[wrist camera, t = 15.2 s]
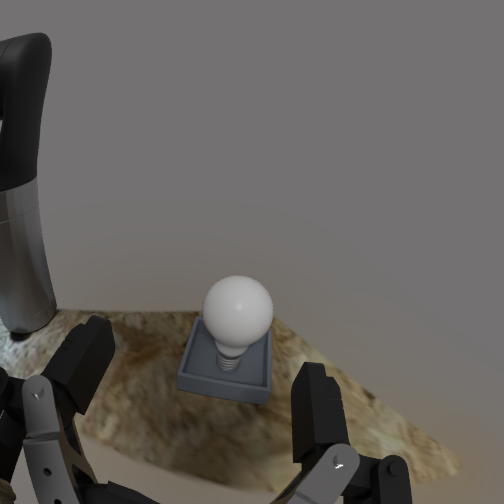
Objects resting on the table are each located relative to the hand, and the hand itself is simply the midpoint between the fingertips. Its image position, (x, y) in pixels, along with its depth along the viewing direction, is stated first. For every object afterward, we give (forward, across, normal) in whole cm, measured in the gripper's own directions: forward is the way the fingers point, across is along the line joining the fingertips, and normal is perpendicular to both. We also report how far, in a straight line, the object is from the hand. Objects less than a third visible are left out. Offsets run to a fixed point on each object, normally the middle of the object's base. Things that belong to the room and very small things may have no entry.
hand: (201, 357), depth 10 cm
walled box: (+12, -2, +15) cm, 20 cm away
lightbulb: (+12, -2, +15) cm, 19 cm away
